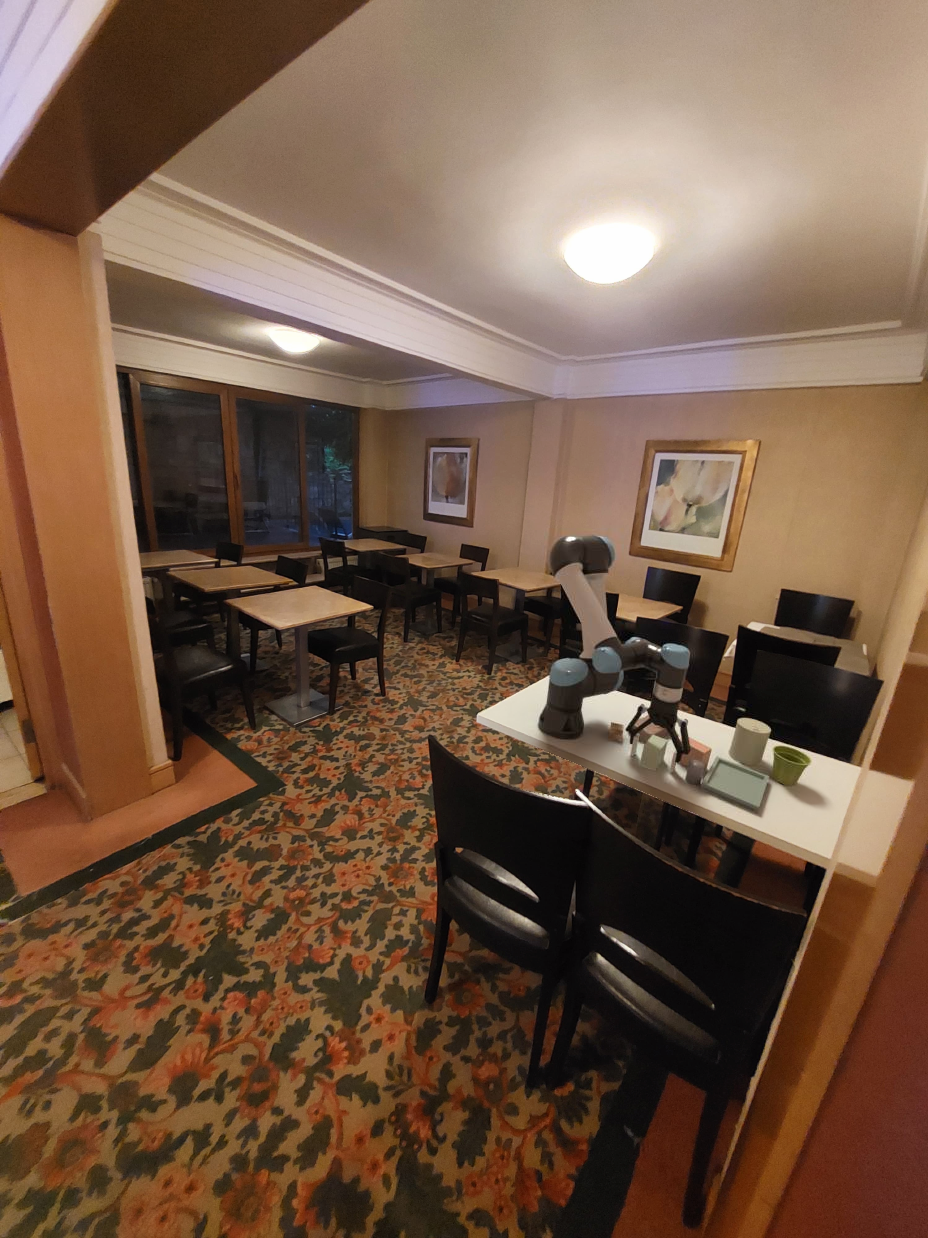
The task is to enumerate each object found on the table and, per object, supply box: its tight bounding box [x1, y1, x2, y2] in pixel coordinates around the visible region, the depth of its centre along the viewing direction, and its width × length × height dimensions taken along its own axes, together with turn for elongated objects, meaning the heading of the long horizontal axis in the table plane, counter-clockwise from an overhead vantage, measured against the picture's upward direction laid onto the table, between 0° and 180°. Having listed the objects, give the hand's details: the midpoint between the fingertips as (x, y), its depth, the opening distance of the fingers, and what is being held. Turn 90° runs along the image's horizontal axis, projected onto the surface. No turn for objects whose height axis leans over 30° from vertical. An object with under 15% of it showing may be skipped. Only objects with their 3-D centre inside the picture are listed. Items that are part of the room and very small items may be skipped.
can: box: [728, 717, 772, 767], centre depth 145 cm, size 9×9×12 cm
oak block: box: [608, 721, 625, 742], centre depth 153 cm, size 4×4×4 cm
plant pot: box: [771, 744, 812, 787], centre depth 135 cm, size 9×9×9 cm
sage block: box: [639, 735, 669, 772], centre depth 140 cm, size 4×8×7 cm, turn 141°
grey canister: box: [684, 760, 705, 787], centre depth 132 cm, size 4×4×6 cm
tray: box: [699, 755, 770, 814], centre depth 132 cm, size 14×18×2 cm
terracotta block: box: [679, 736, 713, 771], centre depth 140 cm, size 4×8×7 cm, turn 35°
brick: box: [627, 714, 677, 744], centre depth 157 cm, size 17×8×5 cm, turn 128°
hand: (652, 762), depth 141 cm, fingers open, 11 cm apart
